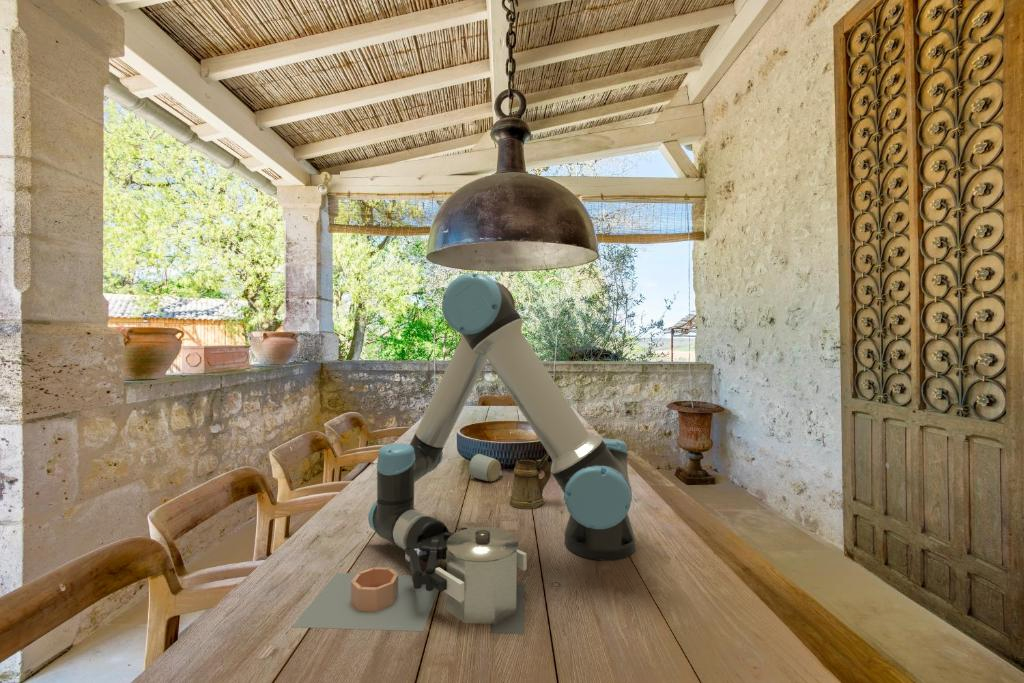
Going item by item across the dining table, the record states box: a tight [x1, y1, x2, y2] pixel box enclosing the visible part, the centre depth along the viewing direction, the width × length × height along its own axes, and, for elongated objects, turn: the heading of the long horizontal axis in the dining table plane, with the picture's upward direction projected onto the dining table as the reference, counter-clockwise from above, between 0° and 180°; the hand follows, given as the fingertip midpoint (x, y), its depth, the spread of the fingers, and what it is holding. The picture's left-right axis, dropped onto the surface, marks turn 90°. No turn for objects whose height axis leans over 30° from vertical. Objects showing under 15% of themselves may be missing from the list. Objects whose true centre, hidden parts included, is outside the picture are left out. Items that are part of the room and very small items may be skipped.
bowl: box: [351, 566, 399, 612], centre depth 76 cm, size 7×7×4 cm
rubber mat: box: [489, 583, 526, 635], centre depth 75 cm, size 14×14×1 cm
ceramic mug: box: [468, 453, 503, 482], centre depth 147 cm, size 11×8×8 cm
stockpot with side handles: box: [445, 526, 519, 628], centre depth 75 cm, size 12×12×12 cm
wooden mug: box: [509, 451, 552, 510], centre depth 124 cm, size 9×14×18 cm, turn 76°
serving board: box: [291, 572, 439, 633], centre depth 76 cm, size 20×16×1 cm
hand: (495, 576), depth 73 cm, fingers open, 13 cm apart
